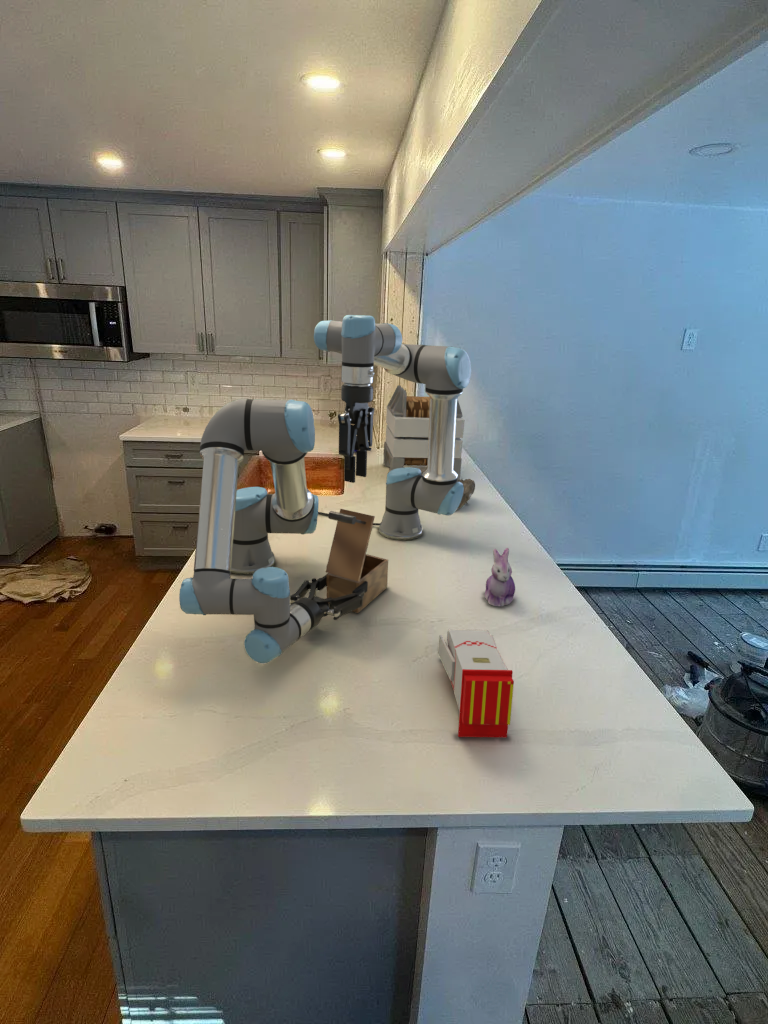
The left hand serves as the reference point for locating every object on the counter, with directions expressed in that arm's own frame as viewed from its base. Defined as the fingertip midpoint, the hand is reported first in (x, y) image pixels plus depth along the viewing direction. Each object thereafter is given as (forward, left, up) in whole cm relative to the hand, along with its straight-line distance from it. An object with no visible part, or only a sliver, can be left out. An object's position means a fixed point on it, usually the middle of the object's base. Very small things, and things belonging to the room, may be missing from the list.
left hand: (348, 581), depth 150 cm
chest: (0, +5, -6) cm, 8 cm away
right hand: (0, +2, +28) cm, 28 cm away
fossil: (-5, +95, -7) cm, 96 cm away
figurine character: (-83, +147, -7) cm, 169 cm away
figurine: (+34, +24, -7) cm, 42 cm away
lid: (0, 0, +10) cm, 10 cm away
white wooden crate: (-37, +128, -7) cm, 133 cm away
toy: (+41, -19, -7) cm, 46 cm away
